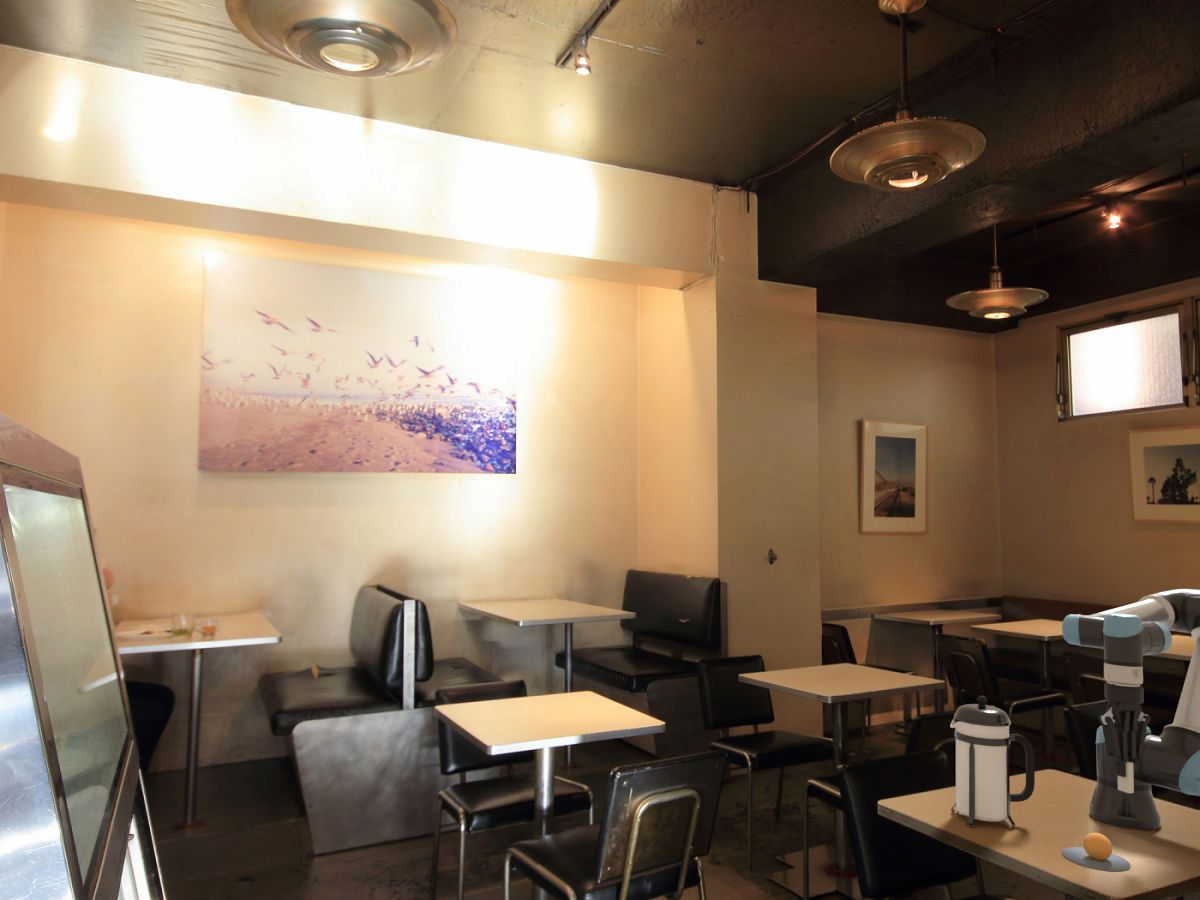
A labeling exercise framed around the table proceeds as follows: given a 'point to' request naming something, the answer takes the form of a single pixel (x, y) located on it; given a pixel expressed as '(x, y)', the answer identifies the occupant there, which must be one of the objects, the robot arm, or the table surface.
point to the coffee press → (987, 763)
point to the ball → (1097, 846)
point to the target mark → (1084, 859)
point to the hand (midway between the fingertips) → (1125, 791)
